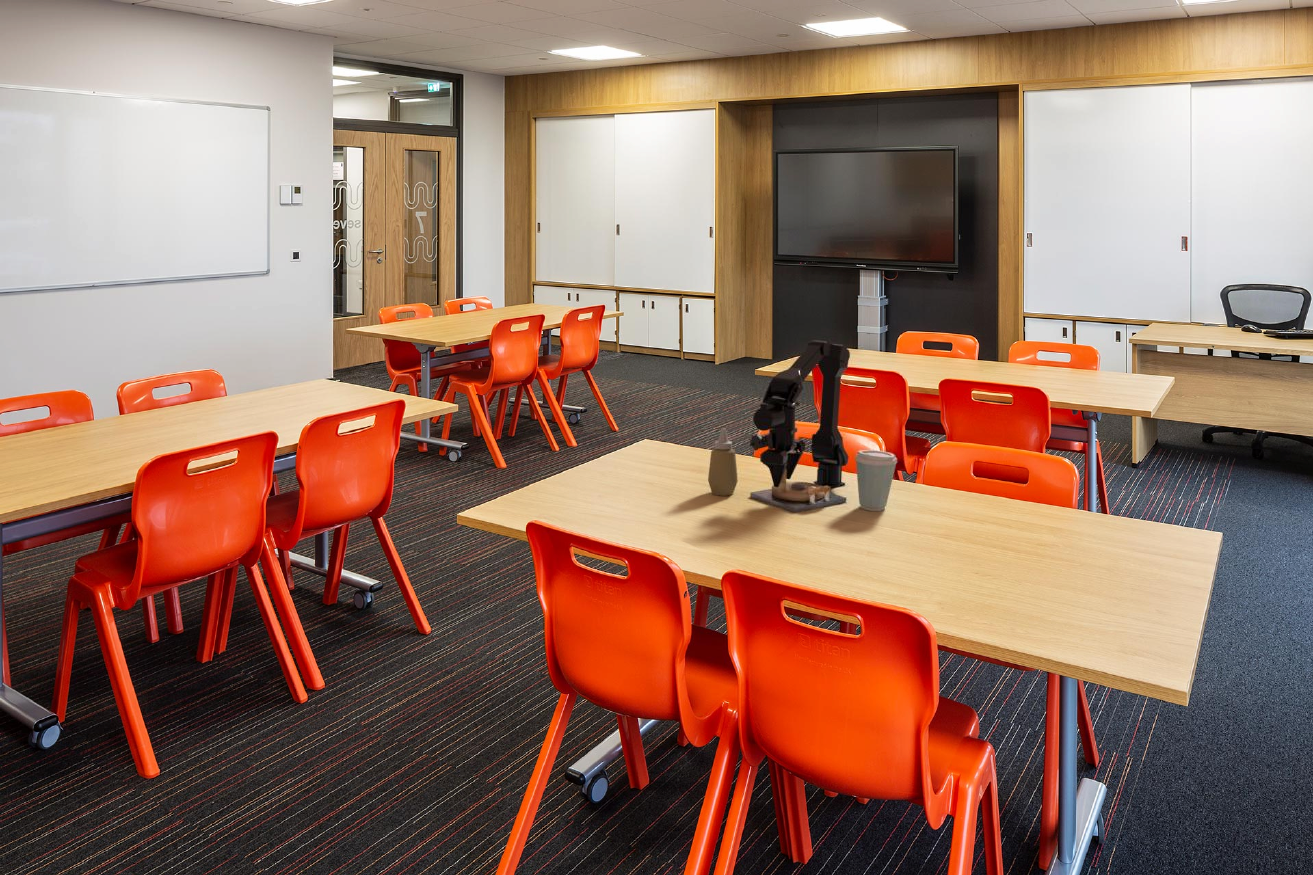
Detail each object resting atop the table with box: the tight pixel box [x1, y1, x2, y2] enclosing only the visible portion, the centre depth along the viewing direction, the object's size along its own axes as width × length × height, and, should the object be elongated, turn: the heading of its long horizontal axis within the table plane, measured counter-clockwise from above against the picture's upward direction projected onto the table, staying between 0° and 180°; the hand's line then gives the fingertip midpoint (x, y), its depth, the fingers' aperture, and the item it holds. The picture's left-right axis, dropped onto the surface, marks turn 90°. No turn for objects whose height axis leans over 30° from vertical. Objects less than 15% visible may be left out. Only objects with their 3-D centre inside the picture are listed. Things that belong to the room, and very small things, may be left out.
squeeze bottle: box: [707, 428, 739, 497], centre depth 277 cm, size 8×8×18 cm
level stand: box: [749, 486, 847, 513], centre depth 273 cm, size 18×18×5 cm
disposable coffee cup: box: [854, 449, 898, 512], centre depth 264 cm, size 11×11×15 cm
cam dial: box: [771, 469, 824, 501], centre depth 272 cm, size 14×14×8 cm
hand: (782, 482), depth 268 cm, fingers open, 9 cm apart
